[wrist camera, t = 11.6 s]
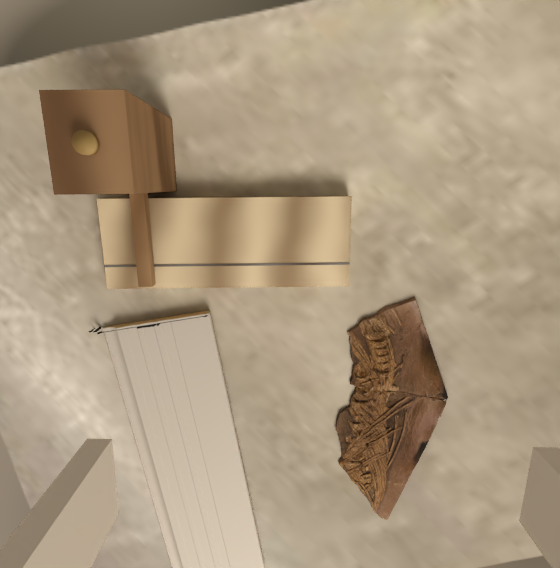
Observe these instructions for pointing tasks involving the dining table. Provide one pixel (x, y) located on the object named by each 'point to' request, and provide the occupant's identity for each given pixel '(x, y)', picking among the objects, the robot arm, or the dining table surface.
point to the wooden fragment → (389, 403)
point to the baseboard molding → (187, 439)
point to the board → (232, 241)
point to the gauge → (111, 154)
